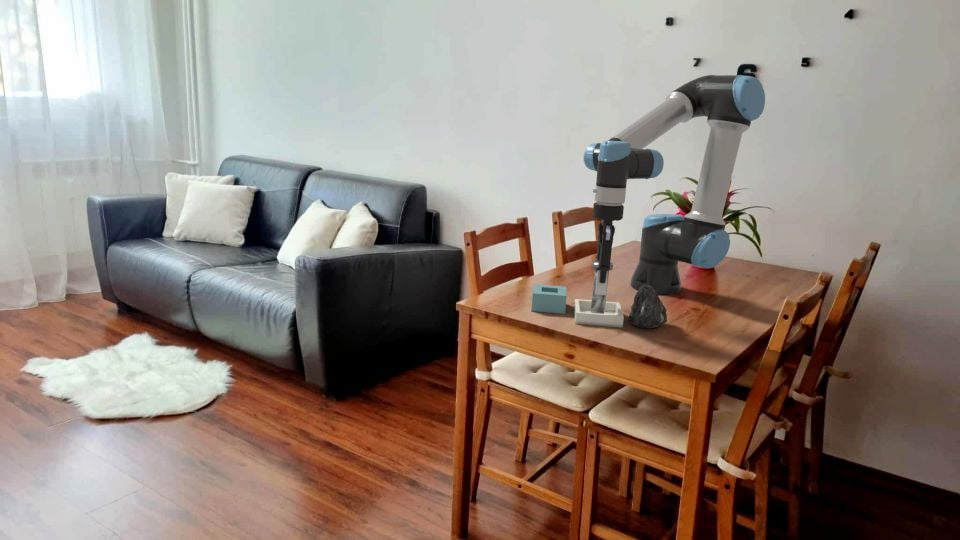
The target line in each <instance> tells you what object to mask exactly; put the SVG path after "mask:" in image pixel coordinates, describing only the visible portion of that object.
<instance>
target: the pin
mask: <svg viewBox="0 0 960 540" xmlns="http://www.w3.org/2000/svg"><path fill="white" fill-rule="evenodd" d="M596 260H597V259H596ZM596 260H593V261H592V266H591V267H592V269H594V277H593V287H592V295H591V297H592V298H591V300H592V304H591V312H592V313H601V314H604V313H605V304H606V302H607V294H608V290H607V291H606V295H596V294H595V292H596V282H597V272H598V270H596V268H598V267H599V260H597V261H596ZM613 268H614V263H613V262H611V261H610V270H609V273H610V271H612V270H613ZM609 273H608V277H609V276H610V275H609ZM608 282H609V281H608ZM608 282H607V286H608Z"/></svg>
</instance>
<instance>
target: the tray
mask: <svg viewBox="0 0 960 540" xmlns="http://www.w3.org/2000/svg"><path fill="white" fill-rule="evenodd" d="M591 304H592V299H580V298H575V299H574V304H573V306H574V307H573V315H574V316H573V317H574V324H575V325H585V326H597V327H599V326H600V327H609V328H610V327H611V328H623V327H624V326H623V325H624V313H623V310H622V306H621V303H620V302H616V301H606V304H605V313H604V314H601V313H592V312H591Z"/></svg>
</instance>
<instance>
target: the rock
mask: <svg viewBox="0 0 960 540" xmlns="http://www.w3.org/2000/svg"><path fill="white" fill-rule="evenodd" d="M630 310H631V311H630V312H629V313H628V316H627V318H626V319H627V320H628V321H629V323H630V324H631V325H633V326H637V327H638V328H639V329H653V328H657V327H658V326H660V325H661V324H666V323H667V322H668V316H667V315H668V314H667V308H666V307H665V305H664V304H663V302H662V301H661V299H660V297H659V294H657V293H656V291H655V290H654V289H653V287H652V286H647V285H642V286H641V287H640V288H639V290H637V291H636V293H635V295H634V297H633V303H632V305H631V306H630Z"/></svg>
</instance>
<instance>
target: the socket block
mask: <svg viewBox="0 0 960 540" xmlns="http://www.w3.org/2000/svg"><path fill="white" fill-rule="evenodd" d="M566 307H567V286H564V285H563V286H561V285H550V284H537V283H534V284H533V288H532V299H531V312H537V313H551V314H561V315H562V314H563V315H565V314H566Z"/></svg>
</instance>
